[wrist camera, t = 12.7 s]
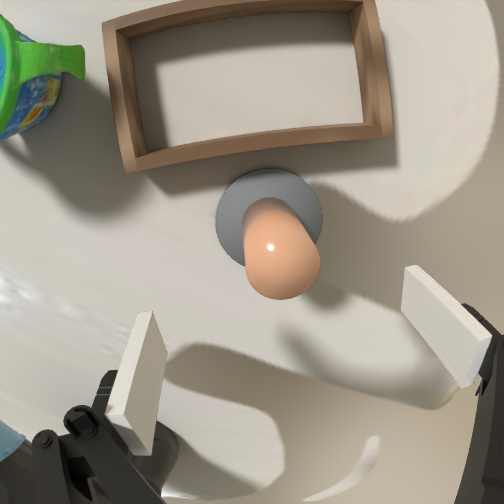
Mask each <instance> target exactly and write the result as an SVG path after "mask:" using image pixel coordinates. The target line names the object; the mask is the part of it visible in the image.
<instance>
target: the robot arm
mask: <svg viewBox="0 0 504 504" xmlns="http://www.w3.org/2000/svg"><path fill="white" fill-rule="evenodd" d="M401 311H402V313H403V314H404V315H405V316H406V318H407V319H408V320H409V321H410V322H411V324H412V325H413V326H414V327H415V329H416V330H417V331H418V332H419V334H420V335H421V336H422V337H423V339H424V340H425V341H426V343H427V344H428V345H429V346H430V348H431V349H432V350H433V351H434V353H435V354H436V355H437V357H438V358H439V359H440V361H441V362H442V363H443V365H444V366H445V367H446V369H447V370H448V371H449V373H450V374H451V375H452V377H453V378H454V379H455V381H456V382H457V383H458V385H459V386H460V387H461V389H463V388H465V387H467V386H470V385H472V384H474V383H475V380H476V378H477V376H478V374H479V375H480V376H481V377H482V380H481V383H480V385H479V387H478V390H477V392H476V394H475V395H476V396H477V395H478V393H479V398H478V404H477V411H476V417H475V423H474V428H473V434H472V439H471V443H470V448H469V453H468V457H467V461H466V465H465V469H464V472H463V476H462V480H461V483H460V487H459V490H458V493H457V496H456V499H455V502H454V504H504V335H501V334H500V333H499V332H498V331H497V330H496V329H495V328H494V327H493V326H492V325H491V324H490V323H489V322H488V321H487V320H485V319H484V317H483V316H482V315H480V314H479V313H478V312H477V311H476V310H475V309H474V308H473V307H471V306H469V305H467V304H465V303H464V304H460V303H458V302H457V301H456V300H455V299H454V298H453V297H452V296H451V295H450V294H449V293H448V292H447V291H446V290H445V289H443V288H442V287H441V286H440V285H439V284H438V283H437V282H436V281H435V280H433V279H432V278H431V277H430V276H429V275H428V274H427V273H426V272H424V271H423V270H422V269H421V268H420V267H419V266H417V265H413V266H409V267H405V274H404V284H403V294H402V304H401ZM167 354H168V353H167V350H166V347H165V345H164V342H163V339H162V336H161V334H160V331H159V328H158V325H157V322H156V320H155V317H154V314H153V311H150V312H142V313H138V316H137V318H136V321H135V324H134V327H133V329H132V332H131V335H130V338H129V341H128V343H127V346H126V349H125V352H124V355H123V358H122V361H121V364H120V367H119V370H109V371H108V372H107V373H106V374H105V375H104V377H103V378H102V380H101V382H100V385H99V389H98V391H97V396H95V399H94V402H93V405H92V408H90V407H89V406H86V405H78V406H76V407H73V408H72V409H70V410H69V411H68V412H67V413H66V415H65V417H64V420H63V422H64V426H65V427H66V429H67V430H68V431H69V432H70V434H67V435H62V436H58V435H57V434H56V433H55V432H54V431H53V430H49V429H48V430H43V431H41V432H39V433H38V434H36V435H35V437H34V439H33V440H32V443H31V442H30V441H28V440H27V439H26V436H24V435H23V434H19V433H18V432H16V431H15V430H13V429H12V428H10V427H9V426H8V425H6V424H5V423H4V422H2V421H1V420H0V504H166V502H165V501H164V500H163V499H162V498H161V491H162V487H163V485H164V484H165V482H166V480H167V478H168V476H169V474H170V472H171V471H172V469H173V467H174V465H175V463H176V461H177V457H178V441H177V439H176V437H175V436H174V435H173V434H172V433H171V432H170V431H169V430H168V429H167V428H166V427H164V426H163V425H161V424H160V423H158V422H156V419H157V412H158V406H159V400H160V394H161V388H162V382H163V376H164V370H165V364H166V359H167Z"/></svg>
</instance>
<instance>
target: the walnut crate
mask: <svg viewBox="0 0 504 504" xmlns="http://www.w3.org/2000/svg"><path fill="white" fill-rule="evenodd" d="M300 12H331V13H348V15H349V20H350V26H351V31H352V37H353V43H354V49H355V55H356V62H357V69H358V76H359V84H360V92H361V101H362V111H363V121H364V123H356V124H339V125H324V126H312V127H301V128H291V129H282V130H273V131H265V132H257V133H250V134H243V135H236V136H230V137H223V138H217V139H211V140H206V141H200V142H194V143H189V144H184V145H179V146H174V147H169V148H164V149H160V150H155V151H150V152H147V149H146V144H145V138H144V133H143V127H142V122H141V116H140V110H139V104H138V98H137V92H136V85H135V78H134V71H133V64H132V57H131V49H130V41H129V39H132V38H136V37H139V36H143V35H146V34H150V33H154V32H158V31H162V30H167V29H171V28H175V27H180V26H185V25H190V24H195V23H201V22H206V21H213V20H219V19H226V18H234V17H242V16H251V15H263V14H277V13H300ZM102 32H103V42H104V51H105V60H106V68H107V75H108V82H109V89H110V96H111V102H112V108H113V114H114V120H115V126H116V131H117V136H118V142H119V147H120V152H121V156H122V161H123V166H124V171H125V174H129V173H133V172H138V171H142V170H147V169H151V168H156V167H161V166H166V165H171V164H176V163H181V162H186V161H192V160H197V159H203V158H208V157H214V156H220V155H226V154H233V153H239V152H246V151H253V150H261V149H268V148H276V147H284V146H293V145H302V144H312V143H323V142H334V141H347V140H363V139H381V138H394V135H393V121H392V109H391V98H390V89H389V80H388V72H387V65H386V58H385V52H384V45H383V39H382V34H381V28H380V23H379V18H378V13H377V8H376V3H375V0H183V1H178V2H173V3H169V4H164V5H160V6H156V7H152V8H149V9H145V10H141V11H138V12H134V13H131V14H127V15H124V16H121V17H118V18H115V19H112V20H109V21H106V22H103V23H102Z"/></svg>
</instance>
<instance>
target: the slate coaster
mask: <svg viewBox="0 0 504 504" xmlns="http://www.w3.org/2000/svg"><path fill="white" fill-rule="evenodd" d="M267 197H273V198H278V199H281V200H283V201H285V202H286V203H288V204H289V205H290V206H291V207H292V209H293V210H294V212H295V214H296V215H297V217H298V218H299V220H300V222H301V223H302V225H303V227H304V228H305V230H306V232H307V233H308V235H309V237H310V238H311V240H312V242H313V243H314V245H315V244H316V242H317V240H318V237H319V235H320V232H321V228H322V209H321V206H320V202H319V200H318V198H317V196H316V194H315V192H314V191H313V190H312V188H311V187H310V186H309V185H308V184H307V183H306V182H305V181H304V180H303V179H301V178H300V177H298V176H297V175H295V174H293V173H291V172H288V171H285V170H281V169H275V168H265V169H259V170H254V171H251V172H249V173H246V174H244V175H242V176H241V177H239V178H238V179H236V180H235V181H234V182H233V183H232V184H231V185H230V186H229V187H228V188H227V189H226V191H225V192H224V194H223V195H222V197H221V199H220V201H219V204H218V207H217V212H216V232H217V236H218V239H219V241H220V244H221V245H222V247H223V249H224V250H225V251H226V253H227V254H228V255H229V256H230V257H231V258H232V259H233V260H235V261H236V262H237V263H239V264H241V265H243V266H245V267H246V264H245V254H244V243H243V233H242V219H243V215H244V213H245V211H246V210H247V208H248V207H249V206H250V205H251V204H252V203H254V202H255V201H257V200H259V199H262V198H267Z"/></svg>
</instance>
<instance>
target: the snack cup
mask: <svg viewBox="0 0 504 504" xmlns="http://www.w3.org/2000/svg"><path fill="white" fill-rule="evenodd" d="M62 72H69V73H70V74H72V75H74V76H75V77H76V78H78V79H79V80H83V79H84V76H85V52H84V48H83V47H82V46H81V45H73V46H67V45H66V46H64V45H56V44H50V43H37V42H36V41H34V40H32V39H30V38H28V37H27V36H26V35H24V34H22V33H21V32H19V31H18V30H16V29H15V27H14V26H13V25H12V24H11V23H10V22H9V21H8V20H6V19H5V18H4V17H3V16H2V15H1V14H0V141H2V140H4V139H7V138H9V137H11V136H13V135H15V134H17V133H19V132H21V131H24V130H26V129H28V128H29V127H31V126H33V125H35V124H37V123H39V122H40V121H41V120H43V119H44V118H45V117H46V116H48V115H49V114H50V110H51V109H52V107H53V105H54V103H55V102H56V99H57V96H58V94H59V90H60V86H61V83H62V80H63V79H62Z"/></svg>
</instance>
